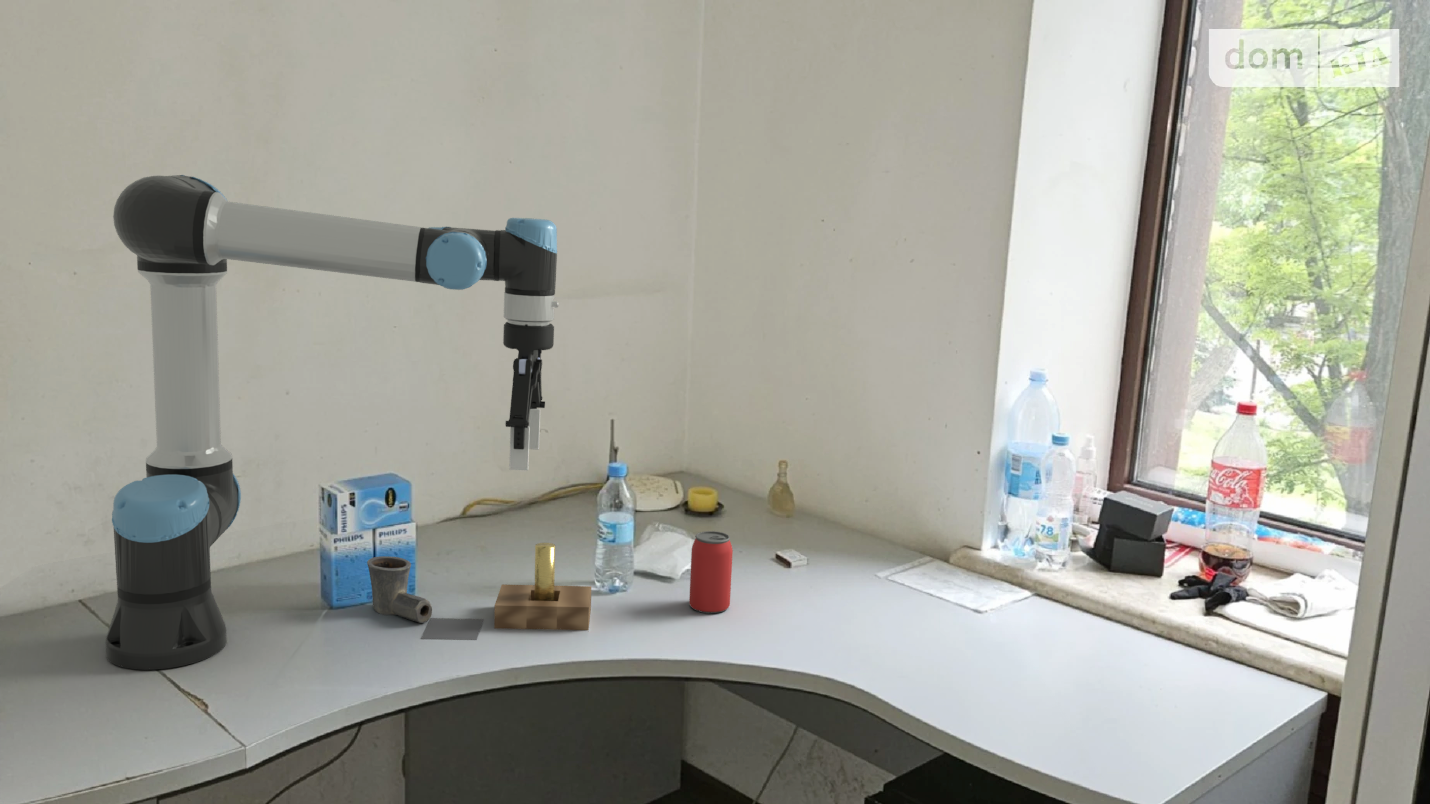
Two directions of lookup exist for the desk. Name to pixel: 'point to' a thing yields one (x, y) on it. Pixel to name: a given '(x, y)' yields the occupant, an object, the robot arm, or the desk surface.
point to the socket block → (543, 608)
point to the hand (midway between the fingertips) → (524, 458)
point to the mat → (452, 629)
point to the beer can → (711, 572)
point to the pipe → (395, 590)
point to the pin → (544, 571)
